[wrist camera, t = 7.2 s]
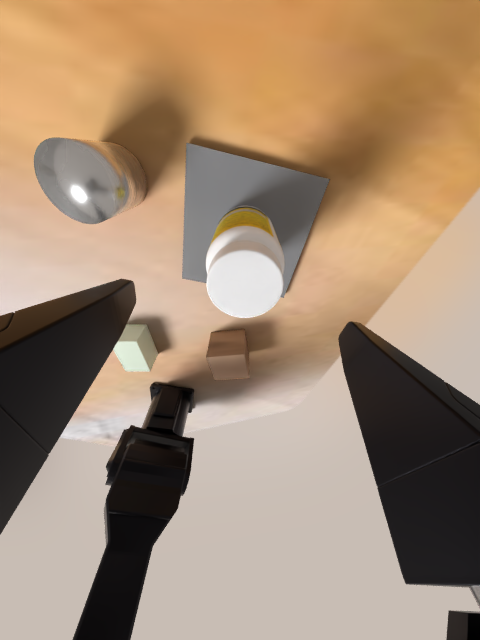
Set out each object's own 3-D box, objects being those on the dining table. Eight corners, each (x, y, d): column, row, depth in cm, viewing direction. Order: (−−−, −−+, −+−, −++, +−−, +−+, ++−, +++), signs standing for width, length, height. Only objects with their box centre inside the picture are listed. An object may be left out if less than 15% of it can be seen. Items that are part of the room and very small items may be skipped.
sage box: (158, 352, 28) (150, 371, 25) (136, 352, 28) (125, 371, 25) (147, 323, 24) (136, 341, 22) (121, 323, 25) (108, 341, 22)
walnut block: (248, 352, 27) (249, 378, 24) (218, 354, 27) (214, 380, 24) (244, 328, 24) (244, 354, 21) (211, 331, 25) (206, 357, 22)
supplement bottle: (204, 230, 17) (177, 277, 10) (252, 189, 15) (256, 215, 9) (239, 274, 19) (236, 335, 13) (284, 243, 17) (308, 296, 11)
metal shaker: (148, 212, 17) (118, 230, 13) (96, 201, 16) (49, 216, 13) (144, 150, 14) (106, 148, 11) (83, 135, 14) (20, 127, 10)
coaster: (282, 294, 21) (283, 297, 21) (183, 275, 20) (182, 278, 20) (327, 178, 15) (329, 179, 15) (188, 143, 14) (186, 142, 14)
